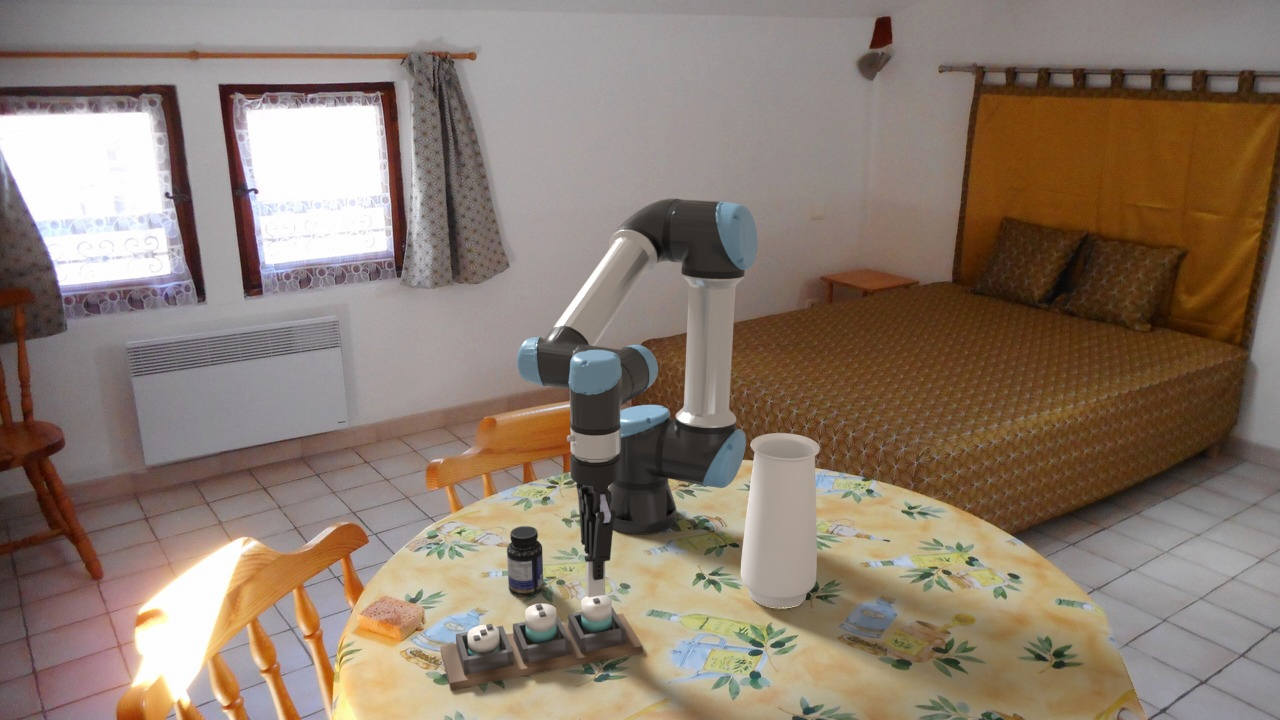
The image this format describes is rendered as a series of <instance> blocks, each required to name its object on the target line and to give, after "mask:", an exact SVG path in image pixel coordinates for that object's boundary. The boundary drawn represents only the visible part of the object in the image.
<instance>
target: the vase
mask: <svg viewBox="0 0 1280 720" xmlns="http://www.w3.org/2000/svg"><path fill="white" fill-rule="evenodd" d="M750 448H751V450H752V451H753V452H754V455H753V464H752V470H751V476H750V477H751V478H750V484H749V485H750V486H749V490H748V491H749V492H748V500H747V506H746V507H747V509H746V515H745V524H744V531H743V532H744V534H743V541H742V551H741V561H740V579H741V581H742V583H743V584H744V586H745V587H747V590H748V596H749V597H750V599H751V598H752V599H753V600H754V601H756V602H757V603H759V604H761V605H764V606H768V607H775V608H779V607H780V608H782V607H784V608H785V607H792V606H796V605H799V604H800V603H802V602H803V601H804V600H805V601H806V597H807V594H808V593H809V592H810V591H812V590H813V589H814V588H815V585H816V582H817V571H818V569H817V568H818V567H817V564H818V560H817V558H818V556H817V555H818V551H817V550H818V548H817V546H818V543H817V542H818V540H817V539H818V536H817V535H818V534H817V533H818V532H817V530H818V529H817V526H818V525H817V490H816V489H817V488H816V486H817V485H816V456H817V455H818V454H819V452H820V450H821V447H820V445H819V444H818V442H817V441H815V440H814V439H811V438H810V437H807V436H804V435H801V434H795V433H785V432H784V433H783V432H776V433H775V432H774V433H772V432H771V433H766V434H761V435H758V436H757V437H755V438H753V439H752V440H751V442H750ZM752 599H751V600H752ZM753 600H752V601H753ZM754 601H753V602H754ZM805 601H804V602H805ZM756 602H755V603H756ZM804 602H803V603H804ZM757 603H756V604H757ZM803 603H802V604H803ZM759 604H758V605H759ZM761 605H760V606H761ZM764 606H763V607H764ZM799 606H800V605H799Z"/></svg>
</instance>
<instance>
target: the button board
mask: <svg viewBox="0 0 1280 720" xmlns="http://www.w3.org/2000/svg"><path fill="white" fill-rule="evenodd" d="M613 607H614V606H612V626H611V627H610V629H608V630H607V631H603V632H598V633H593V632H589V631H586V630H585V629H583V627H582V620H581V611H578V612H573V613H568V614H567V622H566V623H562V620H561V618H560V616H558V615H556V620H557V635H556V637H555V638H554V639H553V640H551V641H549V642H544V643H534V642H531V641H529V640H528V639H527V638H526V623H525V621H521V622H515V623H512V633H506V630H505V628H504V625H499V626H495V627H496V628H497V629H498V630H499V638H500V651H495V652H490V653H485V654H479V655H474V656H468V637H467V634H468V632H469V631H465V632H460V633H455V641H456V642H455V643H451V644H445V645H440V647H439V648H440V655H441V658H442V663H443V666H444V670H445V674H446V678H447V681H448V686H449V690H450V691H452V690H459V689H462V688H463V689H464V688H468V687H472V686H473V687H474V686H479V685H484V684H489V683H493V682H499V681H504V680H509V679H514V678H519V677H525V676H529V675H530V676H531V675H534V674H540V673H545V672H549V671H556V670H561V669H566V668H571V667H576V666H580V665H585V664H591V663H595V662H601V661H607V660H611V659H616V658H617V659H618V658H622V657H626V656H627V657H628V656H632V655H637V654H638V655H639V654H642V653H643V649H644V648H643V647H644V646H643V644H642V642H641V641H640V639H639V637H638V636H637V635H636V634H637V633H635V630H634V629H633V628H632V626H631V625H630V623H629V621H628V620H627V618H626V616H625V615H624V613H618V614H617V612H616V611H615V609H614V608H613Z"/></svg>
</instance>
